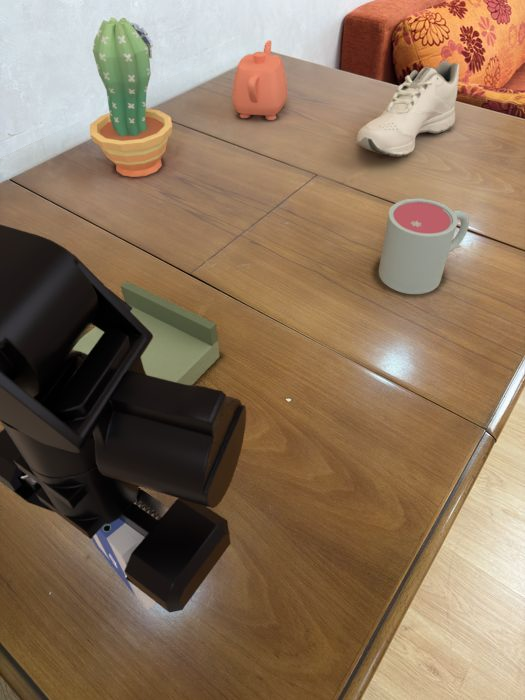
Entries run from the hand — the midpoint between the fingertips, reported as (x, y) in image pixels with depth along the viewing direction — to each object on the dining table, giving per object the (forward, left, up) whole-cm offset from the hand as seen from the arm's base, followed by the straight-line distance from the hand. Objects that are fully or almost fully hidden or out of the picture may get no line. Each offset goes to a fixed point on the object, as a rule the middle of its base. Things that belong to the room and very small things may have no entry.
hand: (124, 544), depth 43 cm
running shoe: (+96, +16, -9) cm, 98 cm away
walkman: (0, 0, -5) cm, 5 cm away
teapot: (+93, +49, -9) cm, 106 cm away
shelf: (+20, +19, -9) cm, 29 cm away
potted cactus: (+59, +55, -9) cm, 81 cm away
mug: (+58, -4, -9) cm, 59 cm away
